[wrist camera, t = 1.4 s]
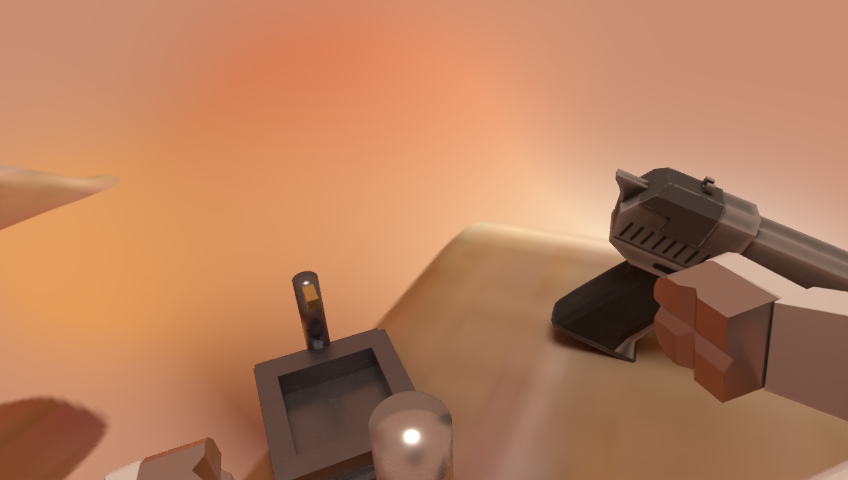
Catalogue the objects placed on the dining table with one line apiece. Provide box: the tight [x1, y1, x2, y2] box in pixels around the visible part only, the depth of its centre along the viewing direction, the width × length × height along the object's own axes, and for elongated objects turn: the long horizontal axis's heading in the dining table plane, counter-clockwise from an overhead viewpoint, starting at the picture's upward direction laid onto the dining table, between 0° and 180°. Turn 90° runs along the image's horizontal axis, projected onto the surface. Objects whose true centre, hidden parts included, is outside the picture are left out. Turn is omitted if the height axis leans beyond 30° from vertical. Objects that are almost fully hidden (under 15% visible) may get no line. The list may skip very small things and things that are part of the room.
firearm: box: [551, 168, 848, 362], centre depth 39 cm, size 4×33×15 cm, turn 72°
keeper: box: [254, 271, 415, 480], centre depth 38 cm, size 10×13×8 cm
